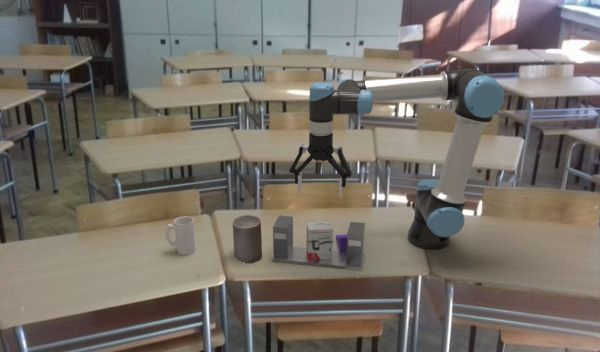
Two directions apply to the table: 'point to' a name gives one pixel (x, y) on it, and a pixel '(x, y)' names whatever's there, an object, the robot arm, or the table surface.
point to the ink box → (319, 240)
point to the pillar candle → (247, 239)
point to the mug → (183, 235)
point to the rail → (340, 259)
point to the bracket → (342, 242)
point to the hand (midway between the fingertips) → (320, 194)
